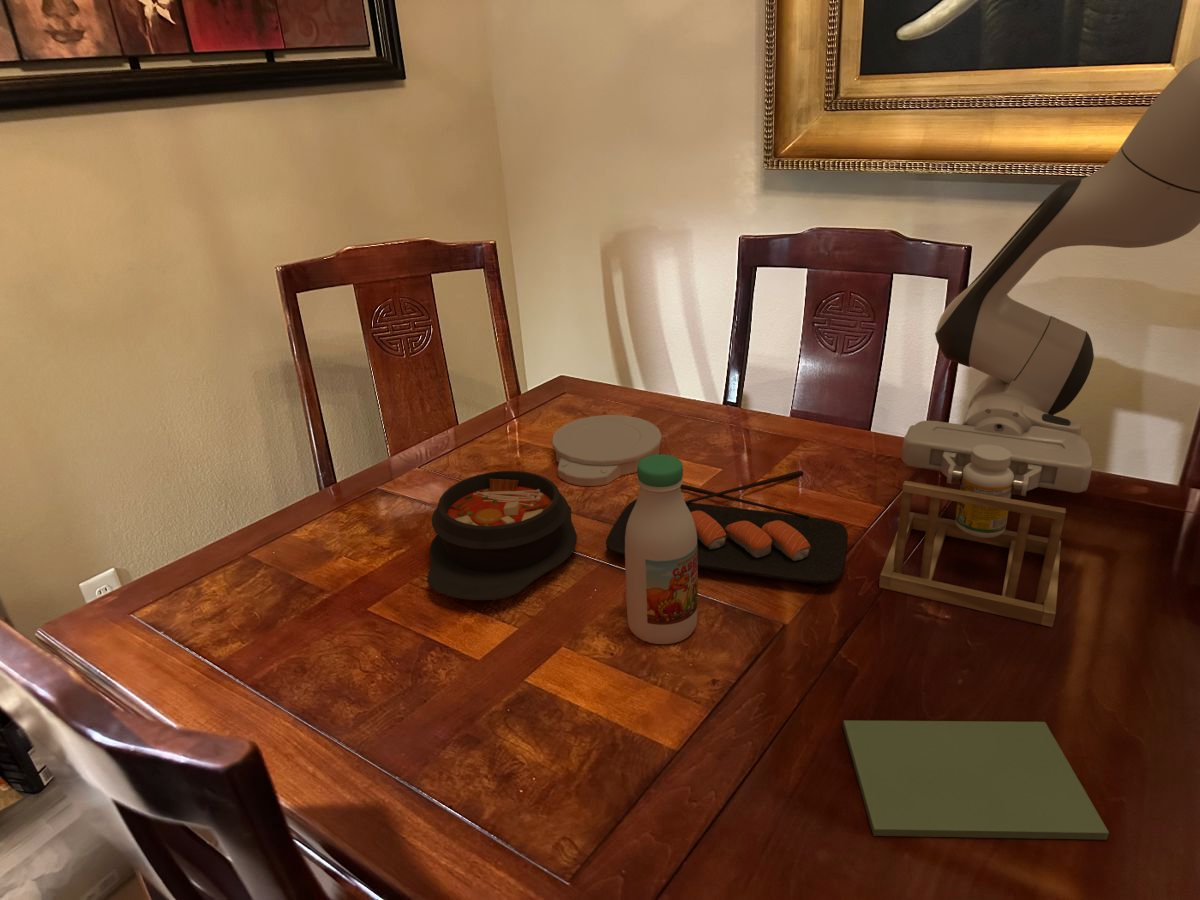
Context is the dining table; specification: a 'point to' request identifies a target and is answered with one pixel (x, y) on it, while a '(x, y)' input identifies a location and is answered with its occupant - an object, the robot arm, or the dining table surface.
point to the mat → (969, 781)
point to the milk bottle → (661, 555)
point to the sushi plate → (758, 539)
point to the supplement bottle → (985, 491)
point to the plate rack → (1016, 541)
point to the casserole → (498, 535)
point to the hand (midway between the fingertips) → (986, 484)
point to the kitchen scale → (603, 448)
